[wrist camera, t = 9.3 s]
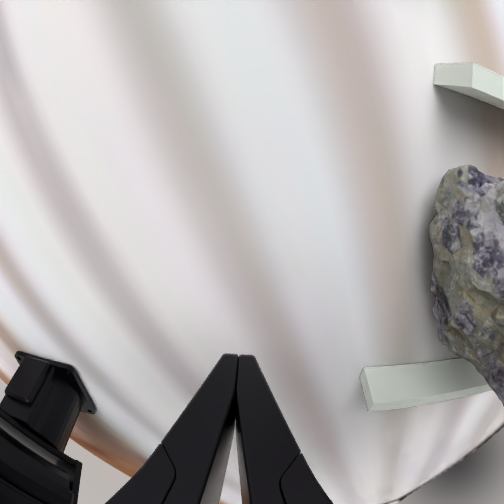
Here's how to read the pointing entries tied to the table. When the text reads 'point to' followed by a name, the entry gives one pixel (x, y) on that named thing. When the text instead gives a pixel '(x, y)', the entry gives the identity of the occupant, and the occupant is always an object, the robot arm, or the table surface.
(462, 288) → the mineral rock
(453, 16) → the table surface
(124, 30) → the table surface
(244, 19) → the table surface
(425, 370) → the pale grey u-shaped frame
